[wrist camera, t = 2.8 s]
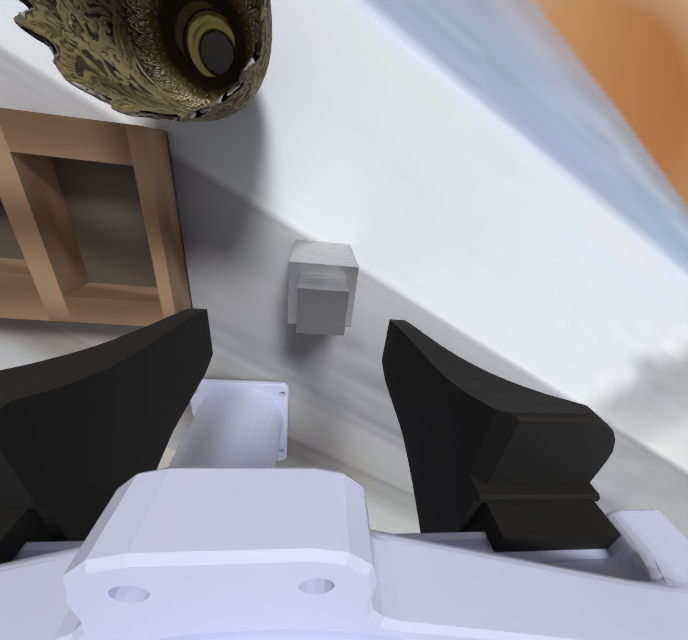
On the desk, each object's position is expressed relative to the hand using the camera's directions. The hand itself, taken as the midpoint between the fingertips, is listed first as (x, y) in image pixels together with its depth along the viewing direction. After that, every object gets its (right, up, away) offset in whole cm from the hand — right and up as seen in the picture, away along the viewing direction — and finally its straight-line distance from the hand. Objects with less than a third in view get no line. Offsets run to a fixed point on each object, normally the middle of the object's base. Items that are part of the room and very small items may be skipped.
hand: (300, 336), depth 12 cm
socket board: (-15, +7, +6) cm, 18 cm away
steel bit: (0, +4, +8) cm, 10 cm away
